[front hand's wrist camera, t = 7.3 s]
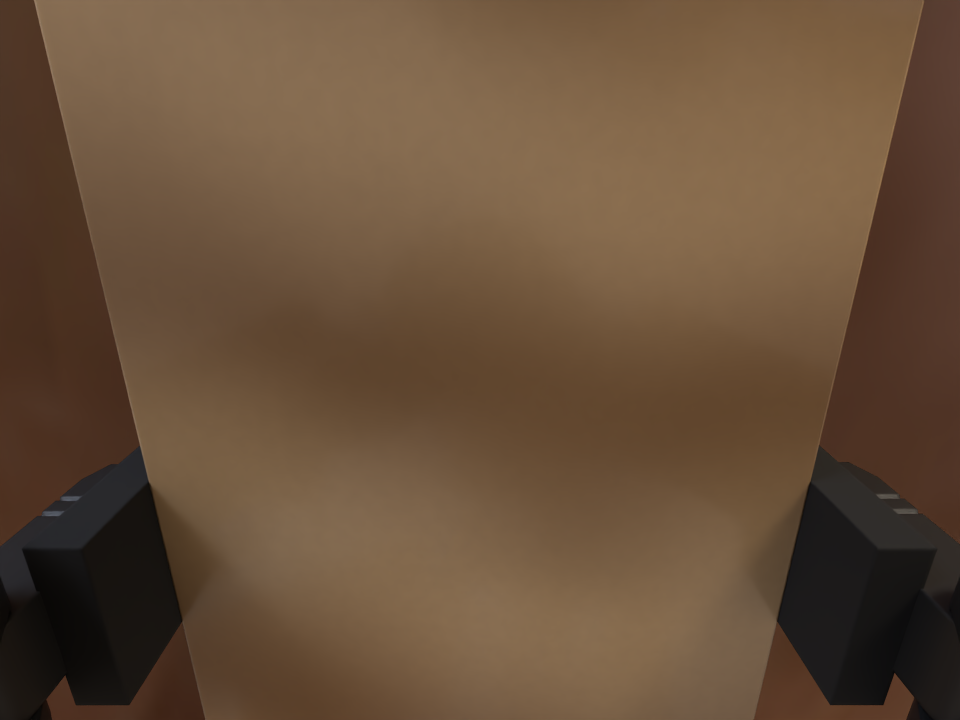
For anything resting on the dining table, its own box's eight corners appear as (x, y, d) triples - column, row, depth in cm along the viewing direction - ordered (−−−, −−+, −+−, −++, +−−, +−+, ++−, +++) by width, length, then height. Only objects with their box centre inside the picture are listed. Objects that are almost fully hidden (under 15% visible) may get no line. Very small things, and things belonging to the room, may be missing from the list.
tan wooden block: (270, -103, 13) (-102, -557, 5) (687, -103, 13) (1059, -555, 5) (332, 484, 19) (212, 756, 10) (626, 484, 19) (746, 756, 10)
